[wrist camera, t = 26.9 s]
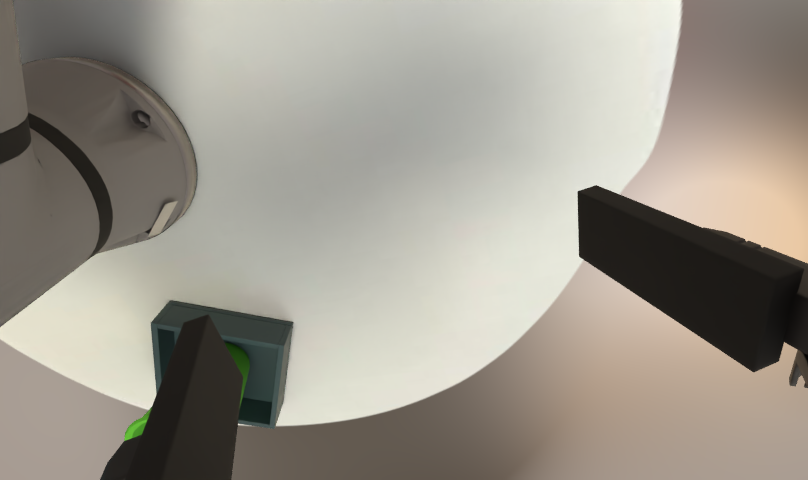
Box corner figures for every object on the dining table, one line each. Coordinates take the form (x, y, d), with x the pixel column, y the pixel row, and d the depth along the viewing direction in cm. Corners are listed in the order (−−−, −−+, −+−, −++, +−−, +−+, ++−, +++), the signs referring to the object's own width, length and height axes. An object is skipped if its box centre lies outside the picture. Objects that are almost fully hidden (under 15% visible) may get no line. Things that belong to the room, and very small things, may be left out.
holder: (174, 385, 48) (157, 411, 44) (170, 300, 42) (150, 322, 39) (283, 402, 49) (274, 429, 46) (293, 322, 43) (284, 345, 40)
